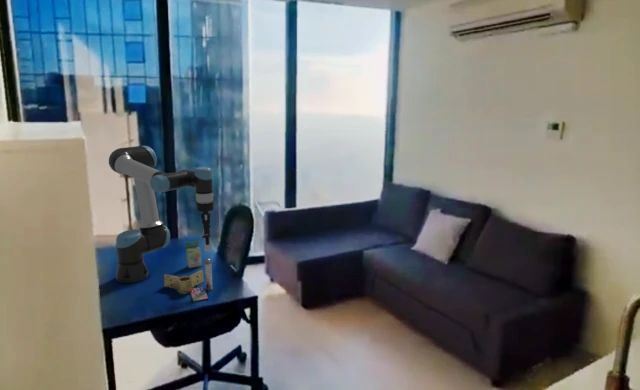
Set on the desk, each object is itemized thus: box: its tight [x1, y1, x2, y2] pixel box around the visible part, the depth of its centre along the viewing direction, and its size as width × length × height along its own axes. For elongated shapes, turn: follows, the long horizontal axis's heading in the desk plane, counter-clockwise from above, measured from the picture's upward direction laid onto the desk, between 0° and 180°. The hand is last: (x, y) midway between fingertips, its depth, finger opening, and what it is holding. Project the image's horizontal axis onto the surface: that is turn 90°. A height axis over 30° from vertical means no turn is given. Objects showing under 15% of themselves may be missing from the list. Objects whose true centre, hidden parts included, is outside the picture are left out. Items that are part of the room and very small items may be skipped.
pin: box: [204, 257, 214, 291], centre depth 212 cm, size 3×3×15 cm
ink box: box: [185, 240, 203, 269], centre depth 240 cm, size 7×4×13 cm, turn 120°
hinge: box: [163, 269, 204, 295], centre depth 217 cm, size 15×16×6 cm
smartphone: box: [188, 285, 210, 303], centre depth 209 cm, size 8×1×15 cm
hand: (207, 246), depth 209 cm, fingers open, 13 cm apart
